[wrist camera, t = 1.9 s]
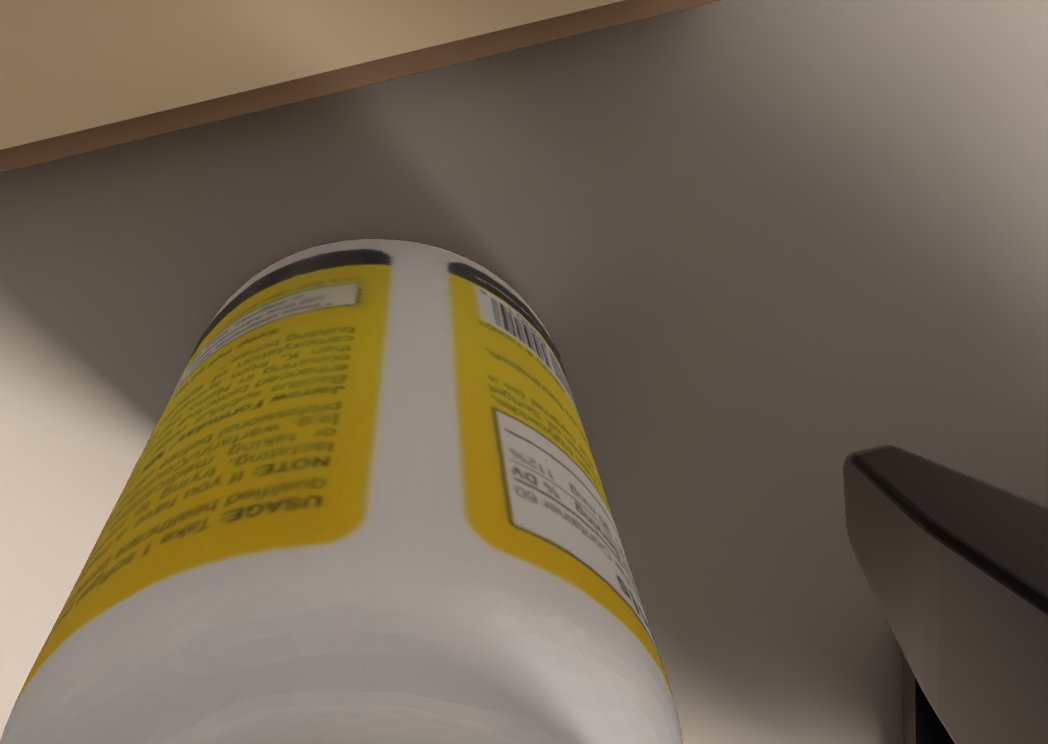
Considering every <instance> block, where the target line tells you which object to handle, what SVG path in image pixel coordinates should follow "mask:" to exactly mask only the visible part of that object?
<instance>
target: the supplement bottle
mask: <svg viewBox="0 0 1048 744" xmlns="http://www.w3.org/2000/svg"><path fill="white" fill-rule="evenodd" d="M0 744H683V739H682V734H681V728H680V722H679V718H678V714H677V710H676V706H675V702H674V698H673V695H672V692H671V689H670V686H669V683H668V680H667V677H666V674H665V671H664V668H663V665H662V662H661V659H660V656H659V653H658V650H657V647H656V644H655V642H654V639H653V636H652V633H651V630H650V627H649V624H648V621H647V618H646V615H645V612H644V609H643V606H642V603H641V600H640V597H639V594H638V591H637V588H636V585H635V582H634V579H633V576H632V573H631V570H630V567H629V564H628V561H627V558H626V555H625V552H624V549H623V545H622V542H621V540H620V537H619V534H618V531H617V528H616V525H615V522H614V519H613V516H612V513H611V510H610V507H609V504H608V500H607V497H606V495H605V492H604V489H603V486H602V482H601V479H600V476H599V473H598V470H597V467H596V465H595V462H594V459H593V456H592V453H591V449H590V446H589V443H588V440H587V437H586V434H585V431H584V428H583V425H582V422H581V419H580V416H579V413H578V410H577V408H576V405H575V402H574V399H573V396H572V393H571V390H570V387H569V384H568V381H567V377H566V374H565V371H564V368H563V366H562V363H561V360H560V357H559V354H558V352H557V350H556V348H555V346H554V344H553V342H552V340H551V337H550V335H549V333H548V332H547V330H546V328H545V327H544V325H543V323H542V322H541V321H540V319H539V318H538V316H537V315H536V313H535V312H534V311H533V310H532V309H531V307H530V306H529V305H528V304H527V303H526V301H525V300H524V299H523V298H522V297H521V296H520V295H519V294H518V293H517V292H516V291H515V290H514V289H512V288H511V287H510V286H509V285H508V284H507V283H506V282H504V281H503V280H502V279H500V278H499V277H498V276H496V275H495V274H493V273H492V272H490V271H489V270H487V269H486V268H484V267H483V266H481V265H479V264H477V263H475V262H473V261H471V260H469V259H467V258H465V257H463V256H460V255H458V254H456V253H453V252H451V251H448V250H445V249H442V248H439V247H435V246H431V245H426V244H422V243H417V242H411V241H403V240H389V239H358V240H348V241H339V242H334V243H329V244H324V245H320V246H315V247H311V248H308V249H306V250H303V251H300V252H297V253H295V254H292V255H290V256H288V257H285V258H283V259H281V260H280V261H278V262H276V263H274V264H272V265H270V266H269V267H267V268H266V269H264V270H263V271H261V272H259V273H258V274H256V275H255V276H253V277H252V278H251V279H250V280H249V281H247V282H246V283H245V284H244V285H243V286H242V287H241V288H239V289H238V290H237V291H236V292H235V293H234V294H233V295H232V296H231V297H230V298H229V299H228V300H227V301H226V303H225V304H224V305H223V306H222V308H221V309H220V310H219V311H218V312H217V314H216V315H215V317H214V318H213V320H212V321H211V323H210V324H209V326H208V327H207V329H206V331H205V333H204V334H203V336H202V338H201V339H200V341H199V343H198V344H197V346H196V348H195V350H194V352H193V354H192V356H191V359H190V361H189V363H188V364H187V366H186V367H185V369H184V371H183V373H182V375H181V377H180V379H179V382H178V384H177V386H176V388H175V390H174V392H173V394H172V396H171V398H170V400H169V402H168V404H167V406H166V408H165V409H164V411H163V413H162V415H161V417H160V419H159V421H158V423H157V425H156V427H155V429H154V431H153V433H152V435H151V437H150V439H149V441H148V443H147V445H146V446H145V448H144V450H143V452H142V454H141V456H140V458H139V460H138V462H137V463H136V465H135V467H134V469H133V472H132V474H131V476H130V478H129V480H128V482H127V484H126V486H125V488H124V490H123V492H122V494H121V496H120V497H119V499H118V501H117V503H116V505H115V507H114V509H113V511H112V513H111V514H110V516H109V518H108V520H107V522H106V524H105V526H104V528H103V530H102V532H101V534H100V536H99V538H98V540H97V542H96V544H95V546H94V548H93V550H92V552H91V554H90V556H89V558H88V560H87V562H86V564H85V566H84V568H83V570H82V572H81V574H80V576H79V578H78V580H77V582H76V584H75V586H74V588H73V590H72V592H71V594H70V596H69V598H68V600H67V601H66V603H65V605H64V607H63V609H62V611H61V613H60V615H59V617H58V619H57V621H56V623H55V625H54V627H53V629H52V631H51V633H50V634H49V636H48V638H47V640H46V642H45V644H44V646H43V648H42V650H41V652H40V654H39V656H38V658H37V659H36V661H35V663H34V665H33V667H32V669H31V671H30V673H29V675H28V677H27V679H26V681H25V683H24V686H23V688H22V690H21V692H20V694H19V696H18V698H17V700H16V703H15V705H14V707H13V710H12V712H11V714H10V717H9V719H8V721H7V724H6V726H5V729H4V732H3V735H2V738H1V742H0Z"/></svg>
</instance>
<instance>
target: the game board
mask: <svg viewBox="0 0 1048 744" xmlns="http://www.w3.org/2000/svg"><path fill="white" fill-rule="evenodd" d="M716 1H721V0H0V173H2V172H6V171H10V170H15V169H19V168H23V167H27V166H31V165H35V164H40V163H44V162H48V161H52V160H56V159H61V158H65V157H69V156H73V155H77V154H81V153H86V152H90V151H94V150H98V149H102V148H106V147H111V146H115V145H119V144H123V143H127V142H132V141H136V140H140V139H144V138H148V137H152V136H157V135H161V134H165V133H169V132H173V131H178V130H182V129H186V128H190V127H194V126H198V125H203V124H207V123H211V122H215V121H219V120H223V119H228V118H232V117H236V116H240V115H244V114H249V113H253V112H257V111H261V110H265V109H269V108H274V107H278V106H282V105H286V104H290V103H294V102H299V101H303V100H307V99H311V98H315V97H320V96H324V95H328V94H332V93H336V92H340V91H345V90H349V89H353V88H357V87H361V86H365V85H370V84H374V83H378V82H382V81H386V80H391V79H395V78H399V77H403V76H407V75H411V74H416V73H420V72H424V71H428V70H432V69H436V68H441V67H445V66H449V65H453V64H457V63H462V62H466V61H470V60H474V59H478V58H482V57H487V56H491V55H495V54H499V53H503V52H507V51H512V50H516V49H520V48H524V47H528V46H533V45H537V44H541V43H545V42H549V41H553V40H558V39H562V38H566V37H570V36H574V35H578V34H583V33H587V32H591V31H595V30H599V29H604V28H608V27H612V26H616V25H620V24H624V23H629V22H633V21H637V20H641V19H645V18H650V17H654V16H658V15H662V14H666V13H670V12H675V11H679V10H683V9H687V8H691V7H695V6H700V5H704V4H708V3H712V2H716Z"/></svg>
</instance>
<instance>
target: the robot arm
mask: <svg viewBox="0 0 1048 744" xmlns="http://www.w3.org/2000/svg"><path fill="white" fill-rule="evenodd" d="M843 476H844V495H845V515H846V528H847V533H848V537H849V541H850V543H851V546H852V549H853V551H854V553H855V555H856V557H857V559H858V561H859V563H860V565H861V567H862V569H863V571H864V574H865V576H866V578H867V580H868V582H869V584H870V586H871V588H872V590H873V592H874V594H875V596H876V598H877V600H878V602H879V604H880V606H881V608H882V610H883V612H884V614H885V616H886V618H887V620H888V622H889V625H890V627H891V629H892V631H893V633H894V635H895V637H896V639H897V641H898V643H899V645H900V647H901V649H902V651H903V686H904V744H1048V507H1046V506H1043V505H1041V504H1038V503H1036V502H1033V501H1031V500H1028V499H1026V498H1023V497H1021V496H1018V495H1016V494H1013V493H1011V492H1008V491H1006V490H1003V489H1001V488H998V487H996V486H993V485H991V484H988V483H986V482H983V481H981V480H978V479H976V478H973V477H971V476H968V475H966V474H963V473H961V472H958V471H956V470H953V469H951V468H948V467H946V466H943V465H941V464H938V463H936V462H933V461H931V460H928V459H926V458H923V457H921V456H918V455H916V454H913V453H911V452H908V451H906V450H903V449H901V448H898V447H895V446H892V445H883V446H878V447H874V448H870V449H866V450H861V451H857V452H853V453H850V454H849V455H848V456H847V457H846V459H845V462H844V466H843Z"/></svg>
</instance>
